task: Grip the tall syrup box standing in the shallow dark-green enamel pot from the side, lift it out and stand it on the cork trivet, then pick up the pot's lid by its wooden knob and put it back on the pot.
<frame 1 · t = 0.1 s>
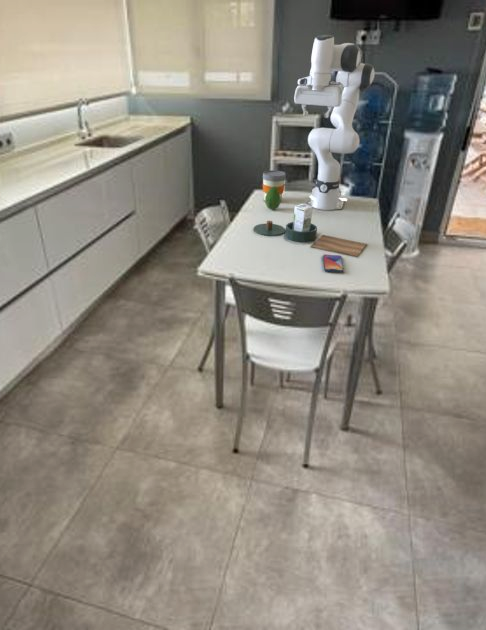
hand: (315, 116, 194), 48 cm above the table, tool pointing down, fingers open, 8 cm apart
pot: (300, 237, 202), on the table
reusable coffee cup: (272, 201, 249), on the table
smartphone: (332, 264, 179), on the table
syrup box: (300, 237, 202), resting on pot
pot lid: (269, 230, 208), point 1 cm above the table
avocado: (272, 209, 236), on the table
trivet: (339, 246, 195), on the table
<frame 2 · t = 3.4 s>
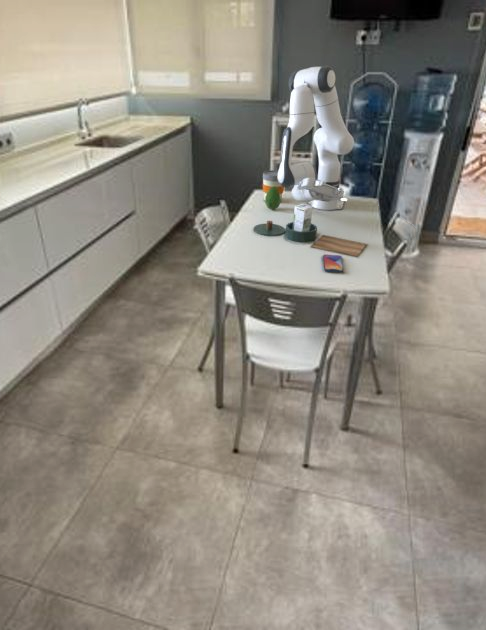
hand: (332, 186, 195), 22 cm above the table, tool pointing upward, fingers open, 8 cm apart
nothing on the table moved.
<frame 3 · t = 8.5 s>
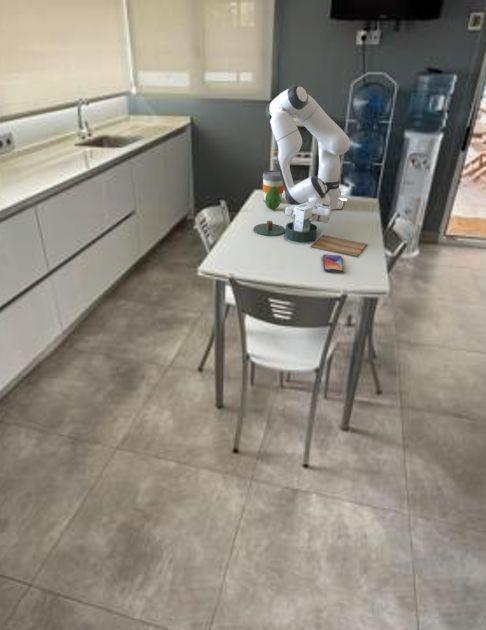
hand: (301, 218, 197), 9 cm above the table, tool horizontal, fingers closed on syrup box, 6 cm apart
syrup box: (300, 237, 202), resting on pot, touching gripper
everything else where it was.
when the fingers open (10 cm above the table, at t = 16.8 s): syrup box stays where it is, resting on trivet.
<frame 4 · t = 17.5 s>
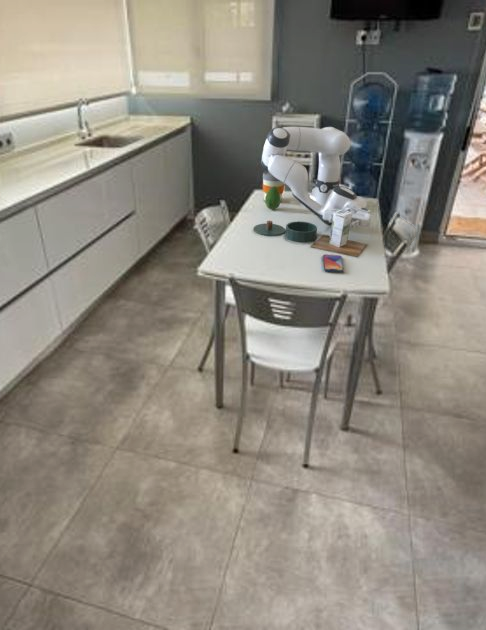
hand: (341, 223, 189), 11 cm above the table, tool horizontal, fingers open, 8 cm apart
syrup box: (337, 244, 195), resting on trivet
everything else where it was.
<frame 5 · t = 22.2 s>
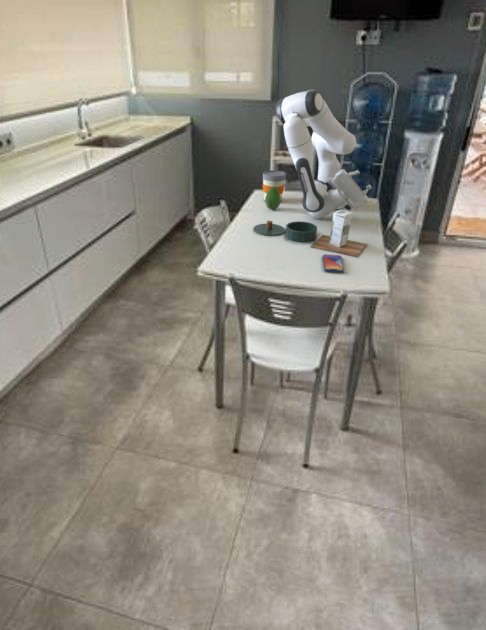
hand: (364, 178, 207), 22 cm above the table, tool pointing upward, fingers open, 8 cm apart
nothing on the table moved.
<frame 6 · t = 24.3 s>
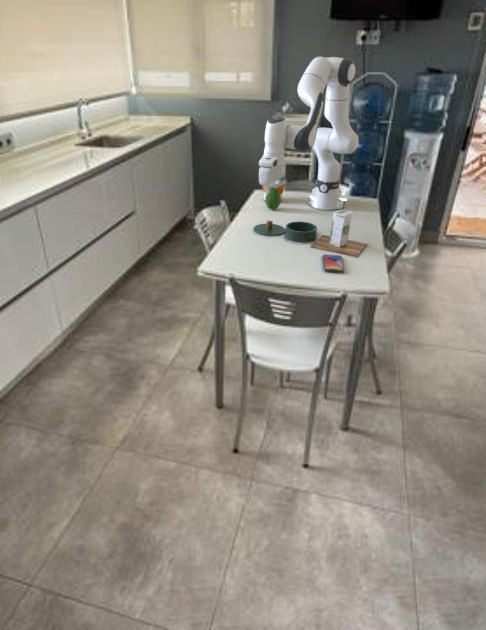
hand: (271, 190, 199), 19 cm above the table, tool pointing down, fingers open, 8 cm apart
nothing on the table moved.
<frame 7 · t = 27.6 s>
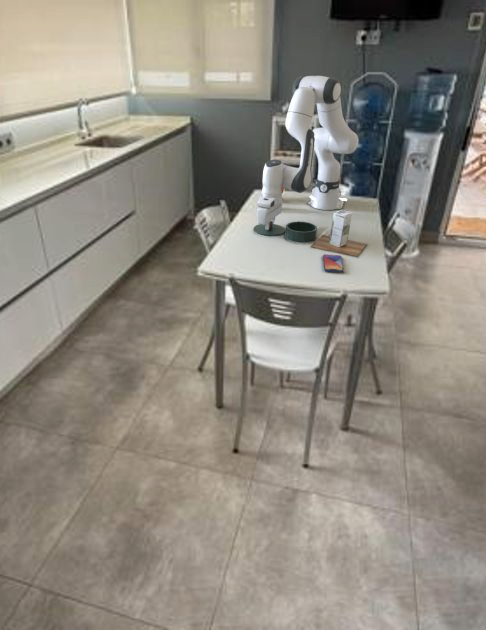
hand: (269, 227, 208), 2 cm above the table, tool pointing down, fingers closed on pot lid, 2 cm apart
pot lid: (269, 230, 208), point 1 cm above the table, touching gripper
everything else where it was.
when the fingers open (6 cm above the table, at t = 33.3 s): pot lid stays where it is, resting on pot.
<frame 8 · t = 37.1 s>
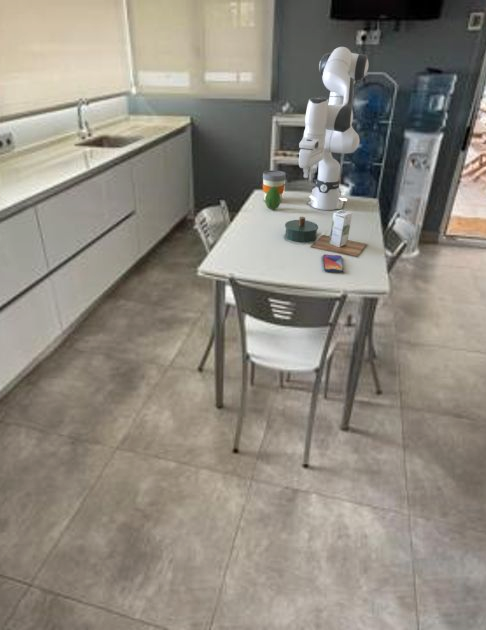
hand: (310, 175, 191), 27 cm above the table, tool pointing down, fingers open, 8 cm apart
pot lid: (301, 226, 199), point 5 cm above the table, touching pot
everything else where it was.
at the end: syrup box inside the target area on the trivet (0.7 cm from its centre), point 0.4 cm above the trivet's base; syrup box tilted 0°; pot lid 0.0 cm off-centre on the pot, point 5.3 cm above the pot's base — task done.
